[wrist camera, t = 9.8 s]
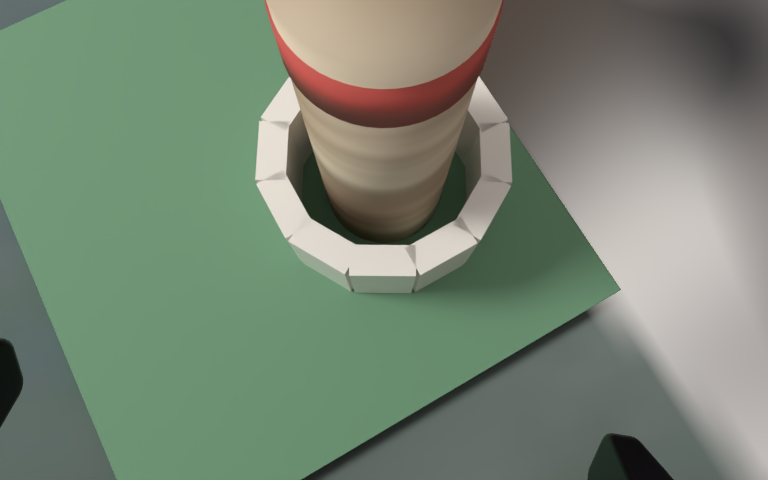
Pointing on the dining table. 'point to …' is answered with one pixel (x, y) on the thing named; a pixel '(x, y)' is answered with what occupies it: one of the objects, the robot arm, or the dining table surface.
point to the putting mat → (237, 252)
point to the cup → (383, 262)
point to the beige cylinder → (384, 99)
